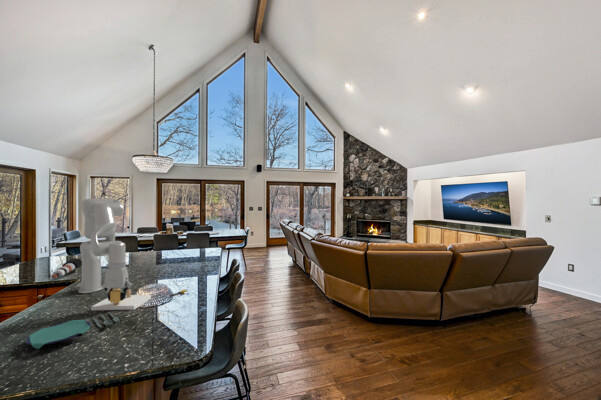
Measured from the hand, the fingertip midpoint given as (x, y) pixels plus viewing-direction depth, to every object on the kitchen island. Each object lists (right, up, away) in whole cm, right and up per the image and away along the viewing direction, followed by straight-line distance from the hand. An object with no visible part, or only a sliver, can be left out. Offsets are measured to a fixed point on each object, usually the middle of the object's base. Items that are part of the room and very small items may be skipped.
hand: (116, 299), depth 136 cm
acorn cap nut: (0, -1, 0) cm, 1 cm away
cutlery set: (-1, -5, -24) cm, 25 cm away
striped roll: (-89, +2, +62) cm, 108 cm away
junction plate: (0, -5, +5) cm, 7 cm away
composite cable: (+23, -5, +21) cm, 31 cm away
